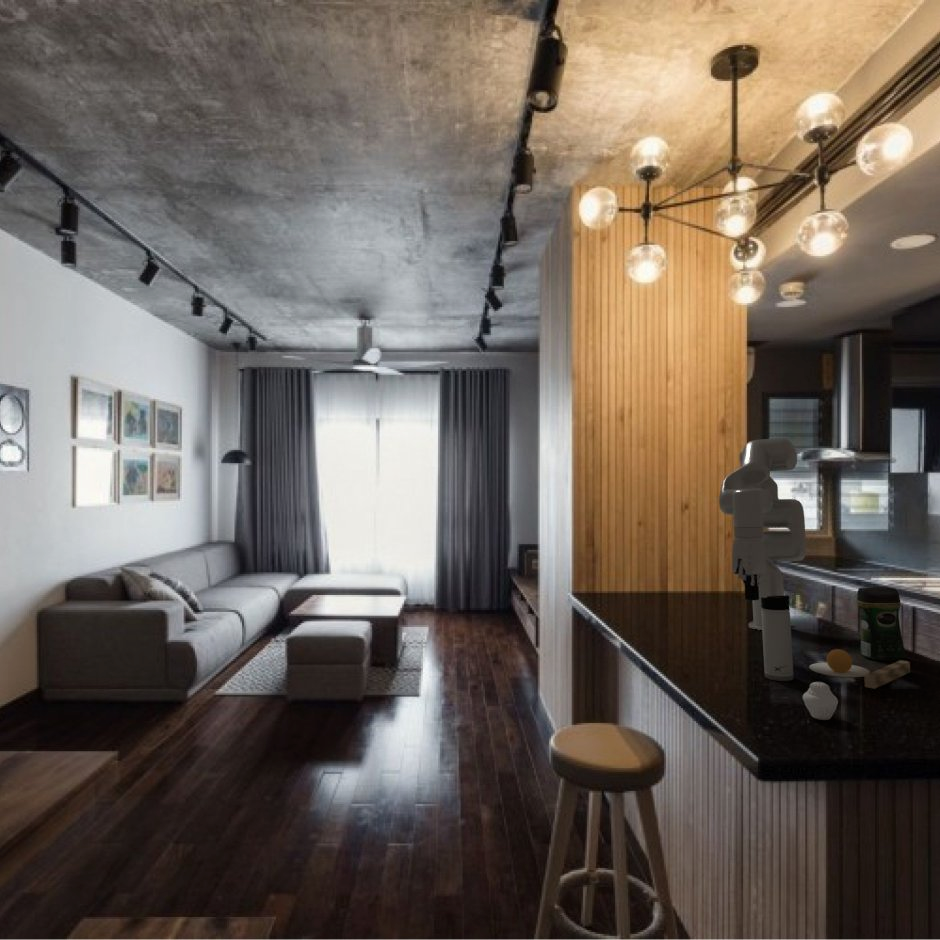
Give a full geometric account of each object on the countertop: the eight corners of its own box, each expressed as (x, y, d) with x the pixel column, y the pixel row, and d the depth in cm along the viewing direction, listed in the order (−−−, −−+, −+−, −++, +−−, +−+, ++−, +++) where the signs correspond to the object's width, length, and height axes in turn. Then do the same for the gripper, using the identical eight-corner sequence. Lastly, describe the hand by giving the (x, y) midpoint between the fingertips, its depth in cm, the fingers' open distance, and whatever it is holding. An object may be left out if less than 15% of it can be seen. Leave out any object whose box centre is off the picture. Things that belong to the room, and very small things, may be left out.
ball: (852, 646, 156) (860, 669, 154) (832, 648, 160) (839, 671, 159) (839, 650, 153) (846, 673, 152) (818, 652, 158) (825, 674, 156)
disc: (824, 660, 167) (824, 659, 167) (879, 670, 156) (879, 669, 156) (799, 669, 159) (799, 668, 159) (855, 680, 149) (855, 679, 149)
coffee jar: (893, 654, 171) (889, 585, 172) (910, 661, 164) (905, 589, 164) (855, 654, 173) (851, 585, 173) (870, 661, 165) (865, 589, 166)
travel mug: (783, 683, 148) (778, 597, 149) (759, 676, 154) (754, 594, 155) (800, 679, 151) (796, 594, 152) (776, 672, 157) (771, 591, 158)
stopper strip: (901, 670, 156) (900, 660, 156) (910, 672, 154) (909, 661, 154) (864, 686, 144) (864, 675, 144) (874, 688, 142) (873, 677, 142)
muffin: (811, 710, 130) (809, 675, 130) (843, 717, 125) (841, 681, 126) (798, 717, 126) (796, 681, 126) (832, 725, 121) (829, 688, 122)
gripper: (750, 531, 185) (754, 595, 184) (721, 534, 176) (724, 601, 175) (775, 532, 179) (779, 597, 178) (746, 535, 170) (750, 604, 169)
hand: (752, 599), depth 176 cm, fingers closed
